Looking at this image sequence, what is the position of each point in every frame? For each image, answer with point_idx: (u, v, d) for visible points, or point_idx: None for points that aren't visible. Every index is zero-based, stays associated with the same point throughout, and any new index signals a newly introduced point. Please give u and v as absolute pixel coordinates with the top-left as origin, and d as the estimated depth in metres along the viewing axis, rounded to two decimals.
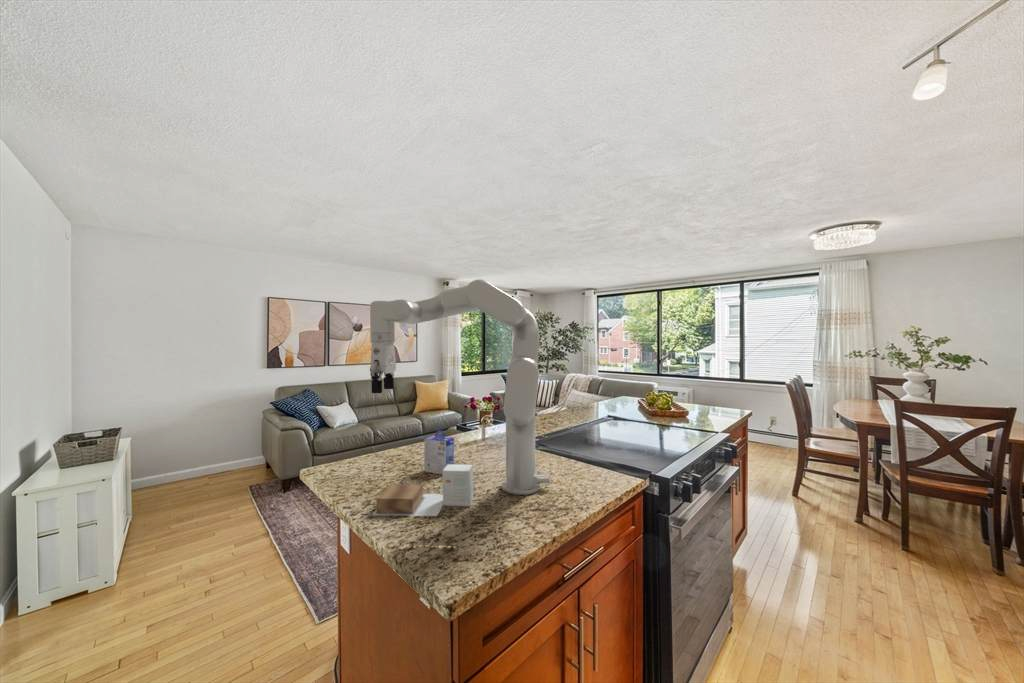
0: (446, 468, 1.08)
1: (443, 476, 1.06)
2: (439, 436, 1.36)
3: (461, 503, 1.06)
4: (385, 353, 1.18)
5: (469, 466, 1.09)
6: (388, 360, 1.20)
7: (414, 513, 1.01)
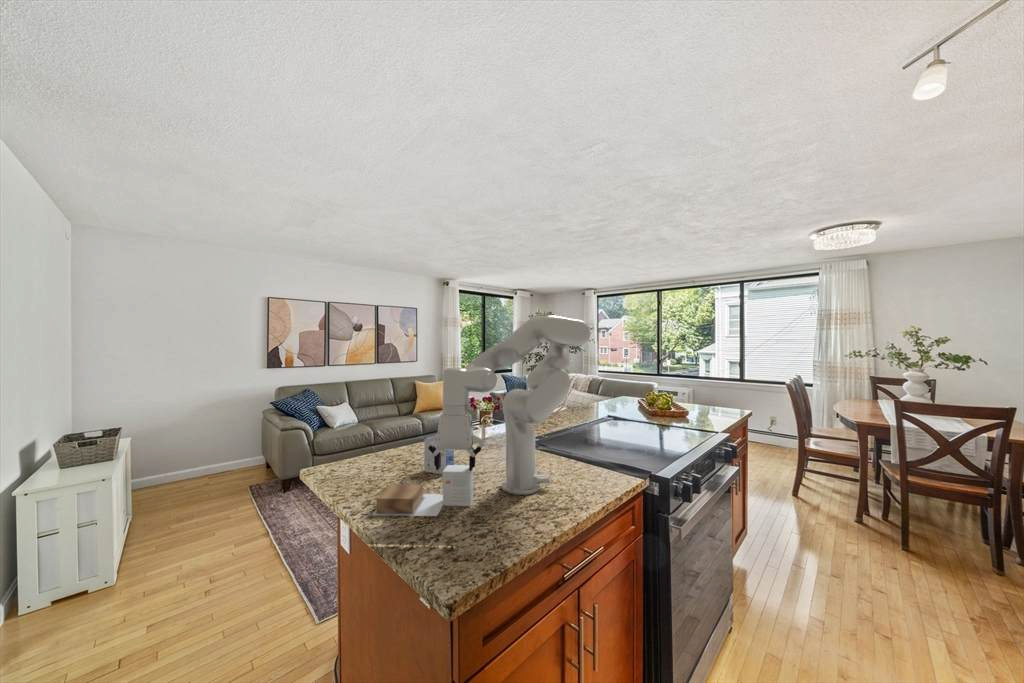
0: (446, 469, 1.08)
1: (443, 477, 1.06)
2: None
3: (461, 504, 1.06)
4: None
5: None
6: None
7: (414, 513, 1.01)
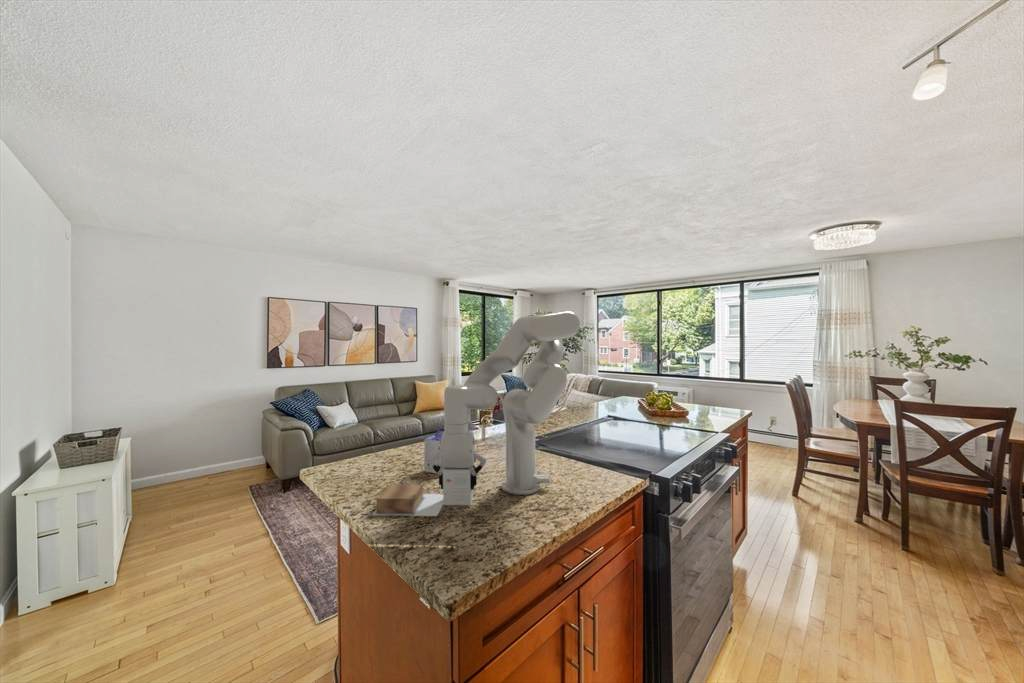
0: (446, 468, 1.08)
1: (443, 476, 1.06)
2: (439, 436, 1.36)
3: (462, 503, 1.06)
4: None
5: None
6: None
7: (414, 513, 1.01)
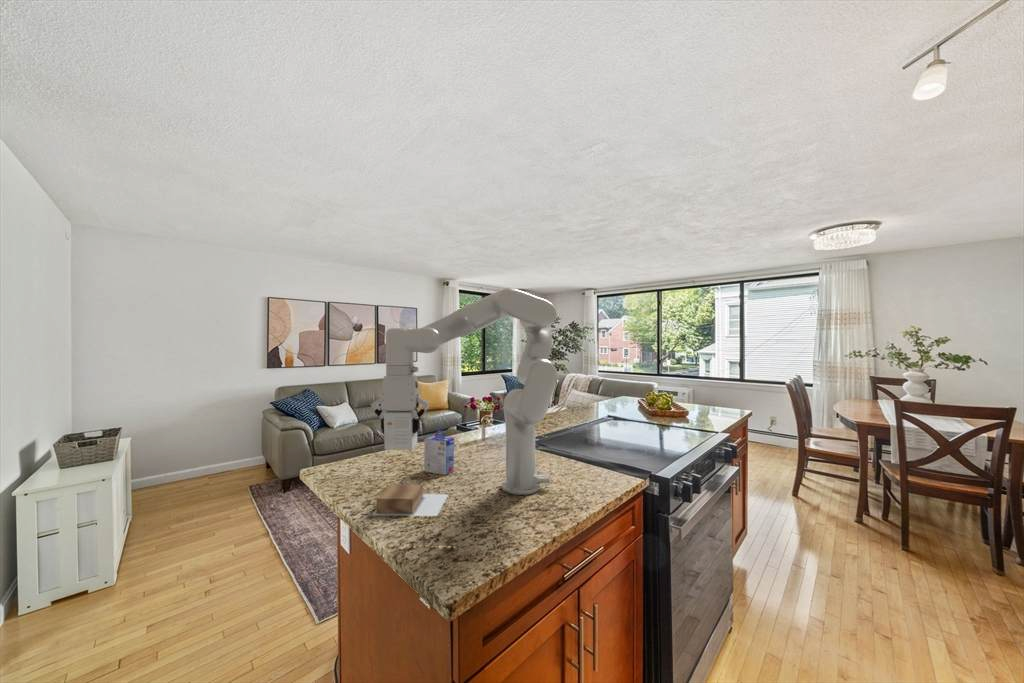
0: (388, 411, 1.06)
1: (384, 419, 1.04)
2: (439, 436, 1.36)
3: (403, 446, 1.04)
4: None
5: None
6: None
7: (414, 513, 1.01)
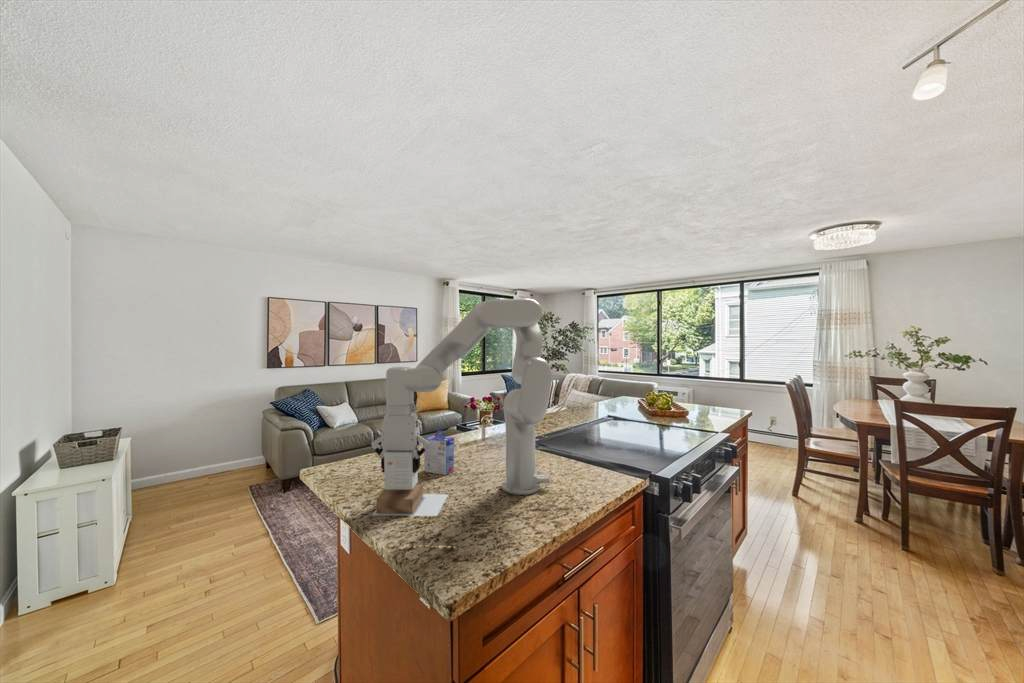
0: None
1: (385, 458, 1.04)
2: (439, 436, 1.36)
3: (403, 486, 1.04)
4: None
5: None
6: None
7: (414, 513, 1.01)
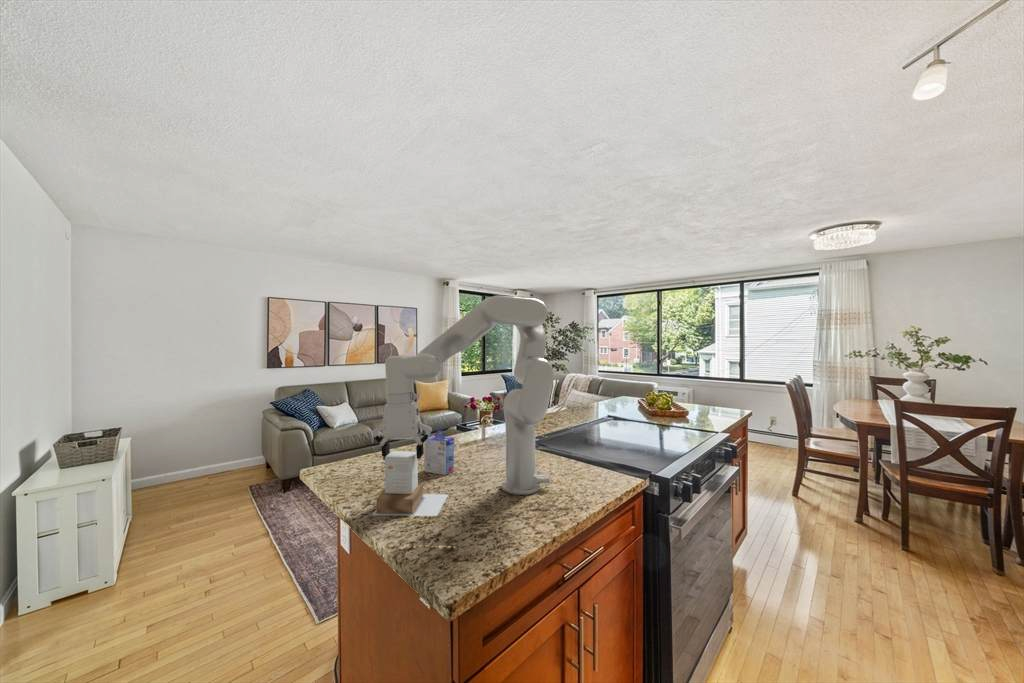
0: (389, 454, 1.06)
1: (385, 462, 1.04)
2: (439, 436, 1.36)
3: (403, 490, 1.04)
4: None
5: (413, 453, 1.08)
6: None
7: (414, 513, 1.01)
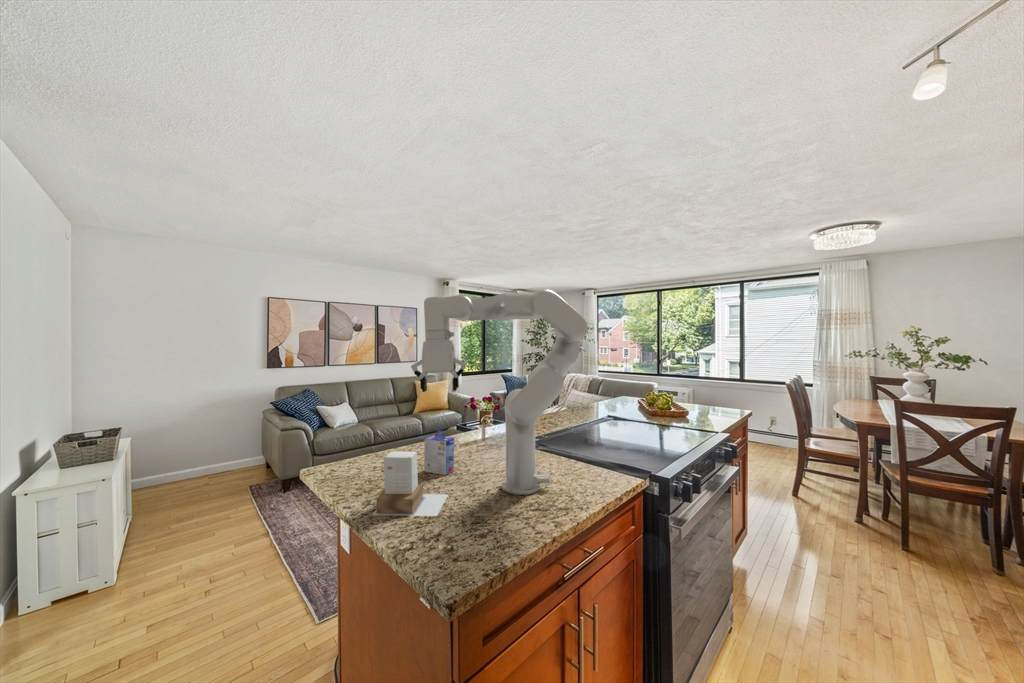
0: (388, 455, 1.06)
1: (385, 463, 1.04)
2: (439, 436, 1.36)
3: (403, 490, 1.04)
4: None
5: (413, 453, 1.08)
6: None
7: (414, 513, 1.01)
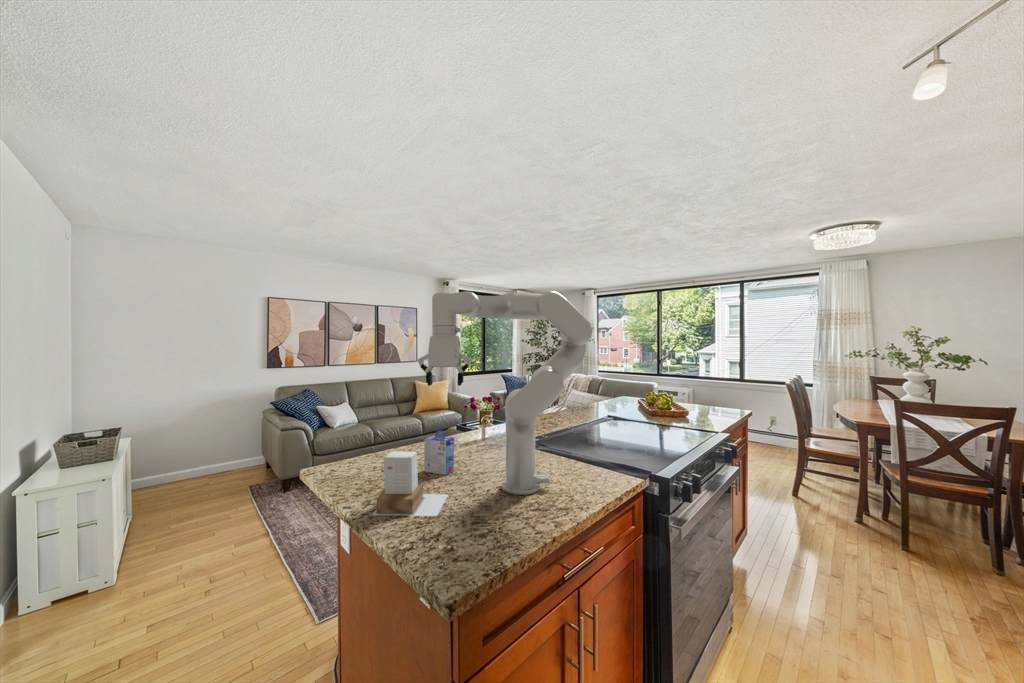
0: (388, 455, 1.06)
1: (385, 463, 1.04)
2: (439, 436, 1.36)
3: (403, 490, 1.04)
4: None
5: (413, 453, 1.08)
6: None
7: (414, 513, 1.01)
